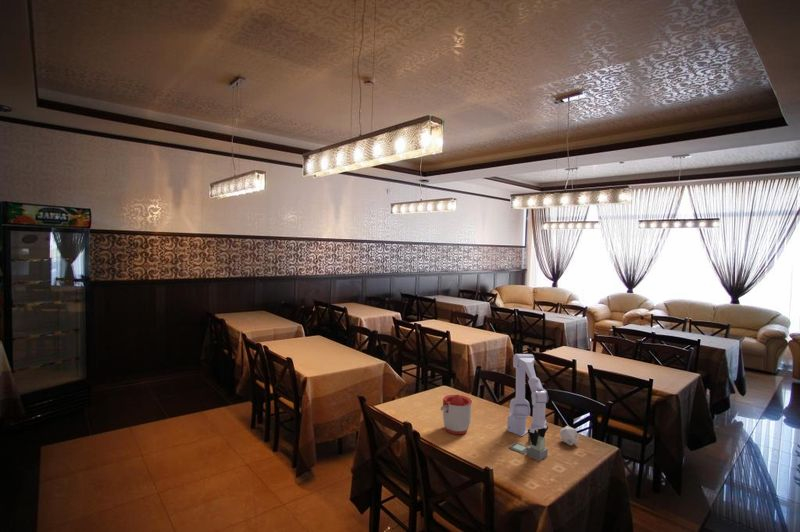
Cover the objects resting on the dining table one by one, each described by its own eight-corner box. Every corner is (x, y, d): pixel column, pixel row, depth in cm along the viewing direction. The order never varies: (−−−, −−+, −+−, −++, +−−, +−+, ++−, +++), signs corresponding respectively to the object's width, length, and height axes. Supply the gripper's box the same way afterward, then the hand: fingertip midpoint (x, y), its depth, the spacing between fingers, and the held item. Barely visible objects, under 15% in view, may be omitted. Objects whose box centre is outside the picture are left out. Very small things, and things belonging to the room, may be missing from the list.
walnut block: (528, 441, 205) (528, 432, 205) (532, 438, 209) (532, 429, 208) (537, 445, 201) (537, 435, 201) (541, 441, 205) (541, 432, 205)
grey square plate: (508, 448, 197) (508, 447, 197) (515, 443, 203) (516, 441, 203) (523, 454, 191) (523, 453, 191) (530, 448, 197) (530, 447, 197)
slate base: (526, 455, 191) (526, 447, 191) (534, 450, 196) (534, 443, 196) (539, 461, 186) (540, 453, 186) (547, 456, 190) (547, 448, 190)
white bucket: (434, 426, 219) (435, 391, 218) (461, 422, 225) (463, 388, 224) (447, 439, 204) (448, 401, 203) (476, 434, 210) (477, 398, 210)
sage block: (530, 447, 191) (530, 437, 190) (534, 444, 194) (535, 434, 194) (540, 451, 187) (540, 441, 187) (544, 448, 191) (545, 438, 190)
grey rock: (562, 447, 201) (575, 435, 197) (552, 432, 208) (565, 420, 205) (572, 450, 205) (585, 438, 201) (562, 435, 212) (575, 423, 208)
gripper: (540, 422, 182) (539, 450, 182) (553, 413, 192) (551, 440, 193) (526, 417, 187) (524, 445, 187) (539, 409, 197) (537, 435, 198)
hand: (537, 442), depth 191 cm, fingers open, 7 cm apart
